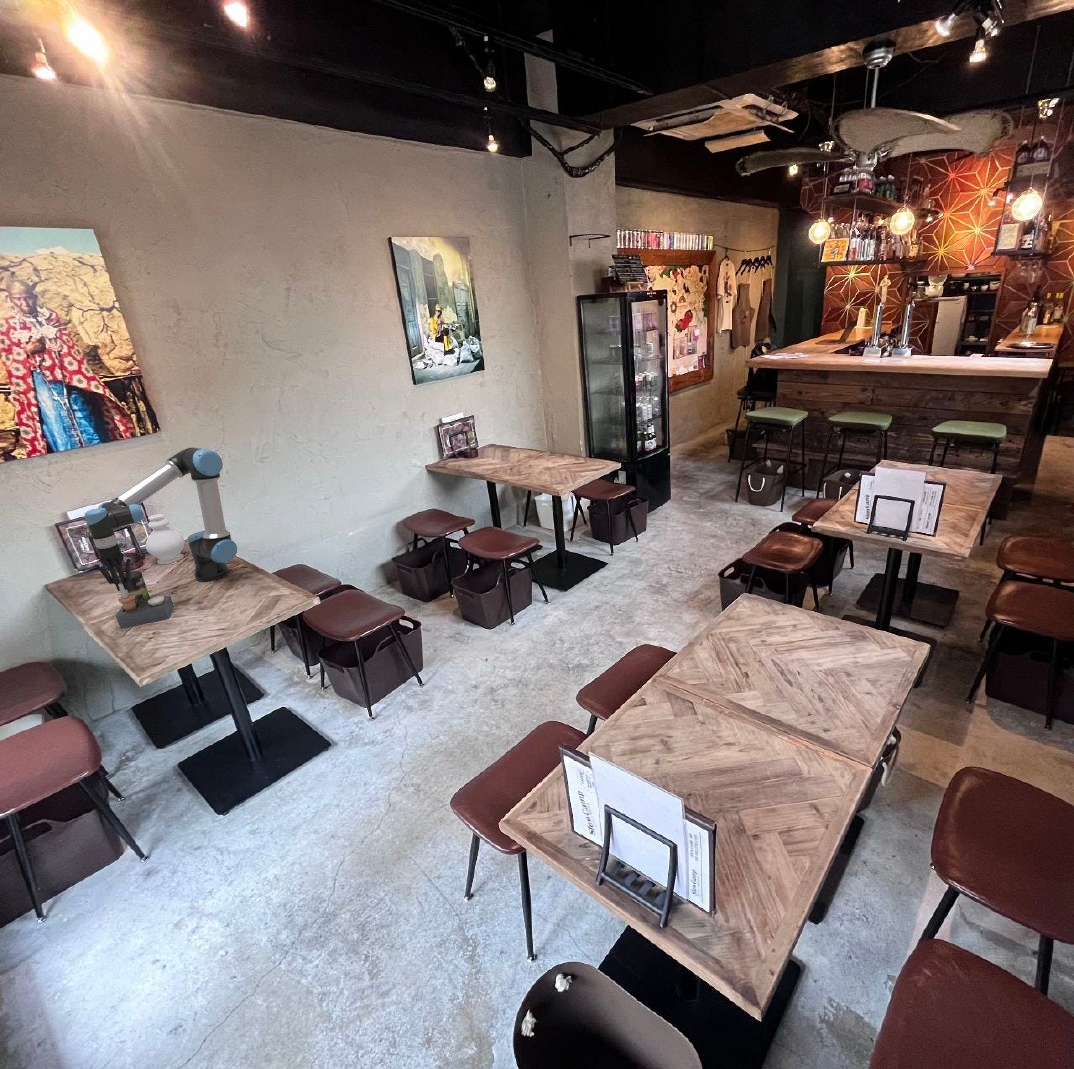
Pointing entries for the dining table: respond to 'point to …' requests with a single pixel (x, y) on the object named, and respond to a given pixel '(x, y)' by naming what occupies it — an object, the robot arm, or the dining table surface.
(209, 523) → the robot arm
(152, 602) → the cream plunger
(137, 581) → the coffee can
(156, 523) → the decorative vase
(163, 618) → the plunger block
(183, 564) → the dining table surface
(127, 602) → the terracotta plunger
